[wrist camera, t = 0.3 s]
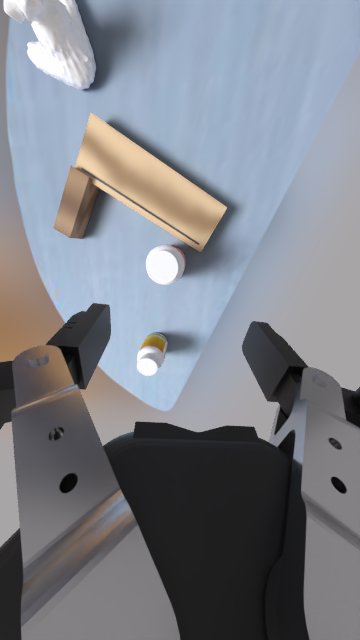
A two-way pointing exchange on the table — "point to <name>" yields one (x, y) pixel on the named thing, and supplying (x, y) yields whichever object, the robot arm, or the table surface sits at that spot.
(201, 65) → the table surface
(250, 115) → the table surface
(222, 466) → the robot arm
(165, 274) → the pill bottle
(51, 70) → the seated beast figurine
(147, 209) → the wooden l-shaped block
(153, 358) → the supplement bottle
